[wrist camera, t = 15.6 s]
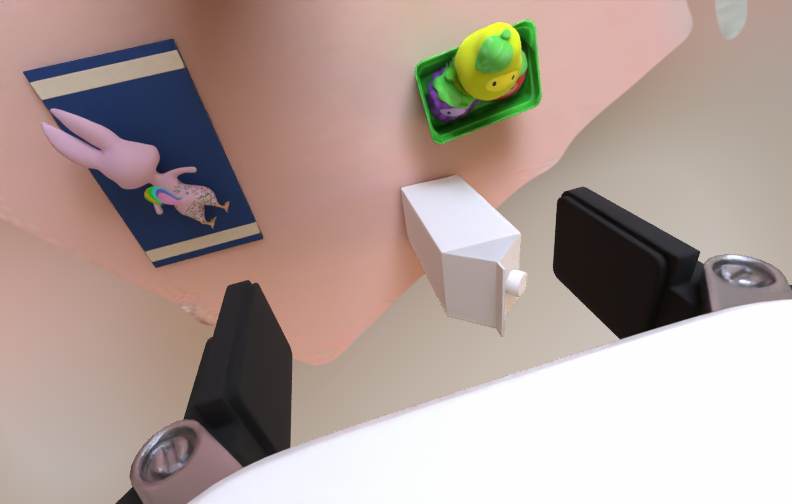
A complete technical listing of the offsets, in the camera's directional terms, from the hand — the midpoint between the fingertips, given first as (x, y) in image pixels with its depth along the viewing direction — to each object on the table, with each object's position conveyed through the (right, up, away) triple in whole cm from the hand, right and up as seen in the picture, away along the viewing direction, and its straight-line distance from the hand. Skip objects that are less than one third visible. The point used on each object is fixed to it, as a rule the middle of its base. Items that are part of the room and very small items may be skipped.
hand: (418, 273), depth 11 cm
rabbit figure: (-24, +9, +24) cm, 35 cm away
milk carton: (+4, +6, +34) cm, 34 cm away
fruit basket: (+6, +19, +26) cm, 33 cm away
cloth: (-23, +9, +25) cm, 35 cm away
